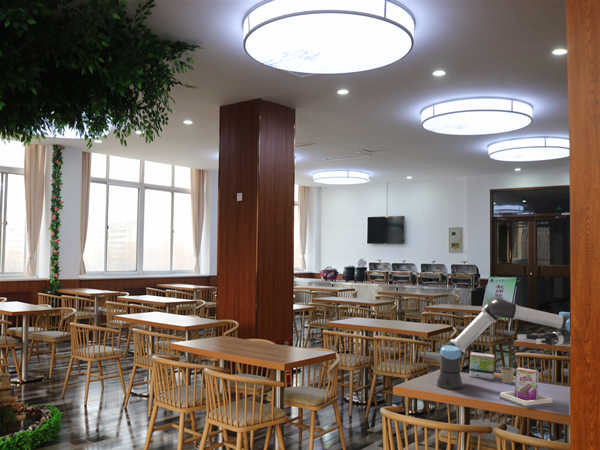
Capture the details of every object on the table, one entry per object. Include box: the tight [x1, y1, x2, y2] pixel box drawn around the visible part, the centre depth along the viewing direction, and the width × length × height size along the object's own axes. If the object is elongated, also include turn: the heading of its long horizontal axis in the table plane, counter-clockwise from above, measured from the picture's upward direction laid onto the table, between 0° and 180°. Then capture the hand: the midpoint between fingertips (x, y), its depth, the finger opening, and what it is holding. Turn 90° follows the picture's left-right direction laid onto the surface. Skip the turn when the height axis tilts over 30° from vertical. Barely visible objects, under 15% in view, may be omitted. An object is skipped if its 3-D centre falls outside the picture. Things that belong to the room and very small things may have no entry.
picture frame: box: [499, 390, 553, 409], centre depth 296 cm, size 18×20×4 cm
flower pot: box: [499, 366, 516, 385], centre depth 340 cm, size 9×9×9 cm
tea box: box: [469, 351, 495, 380], centre depth 354 cm, size 15×10×15 cm, turn 73°
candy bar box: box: [514, 367, 540, 401], centre depth 296 cm, size 11×5×16 cm, turn 57°
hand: (526, 339), depth 309 cm, fingers open, 13 cm apart
